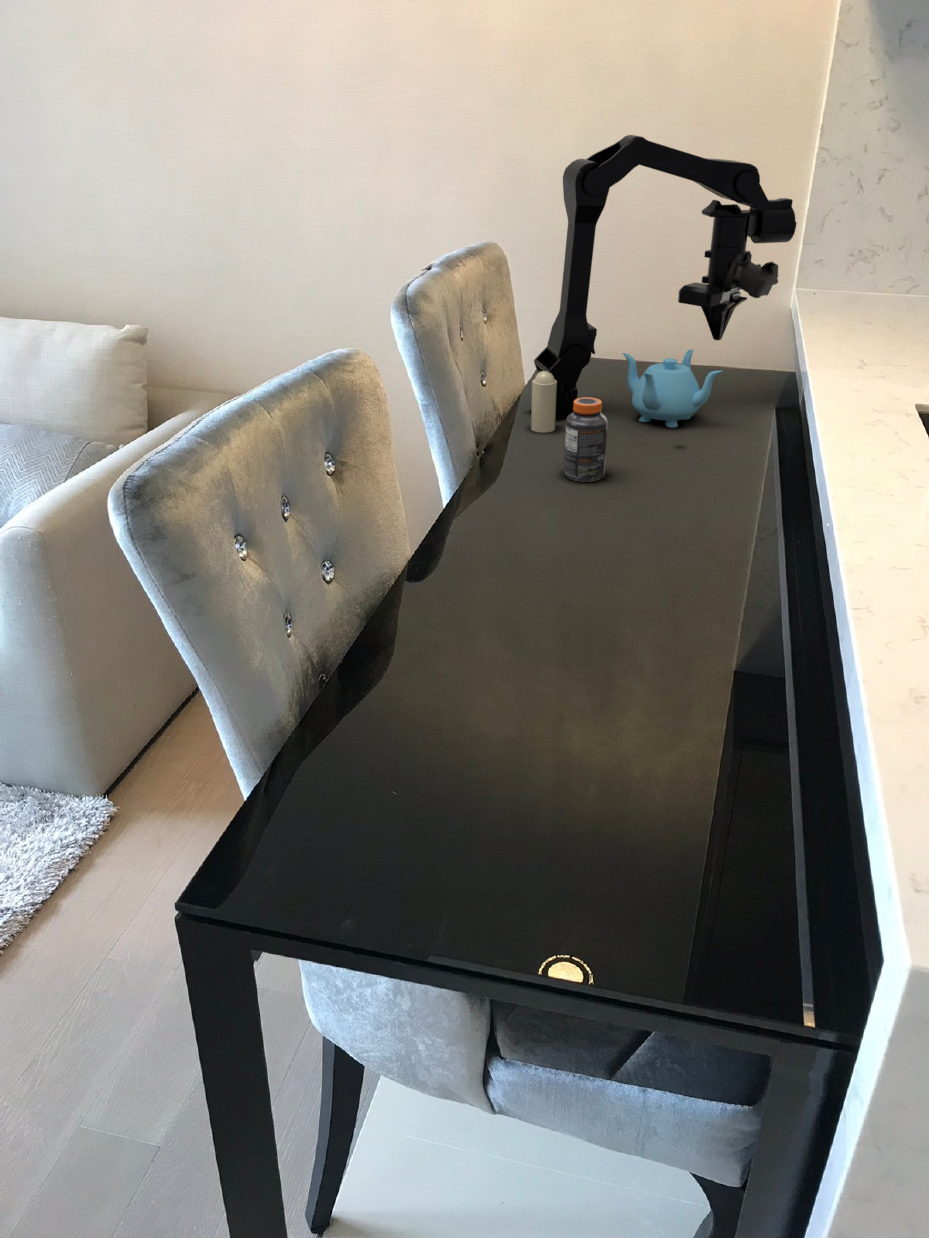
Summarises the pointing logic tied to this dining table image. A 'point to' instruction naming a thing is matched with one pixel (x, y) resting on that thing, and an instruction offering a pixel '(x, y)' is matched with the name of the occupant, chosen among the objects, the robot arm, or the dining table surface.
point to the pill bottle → (585, 441)
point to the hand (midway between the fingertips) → (717, 339)
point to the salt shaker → (543, 402)
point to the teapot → (667, 390)
